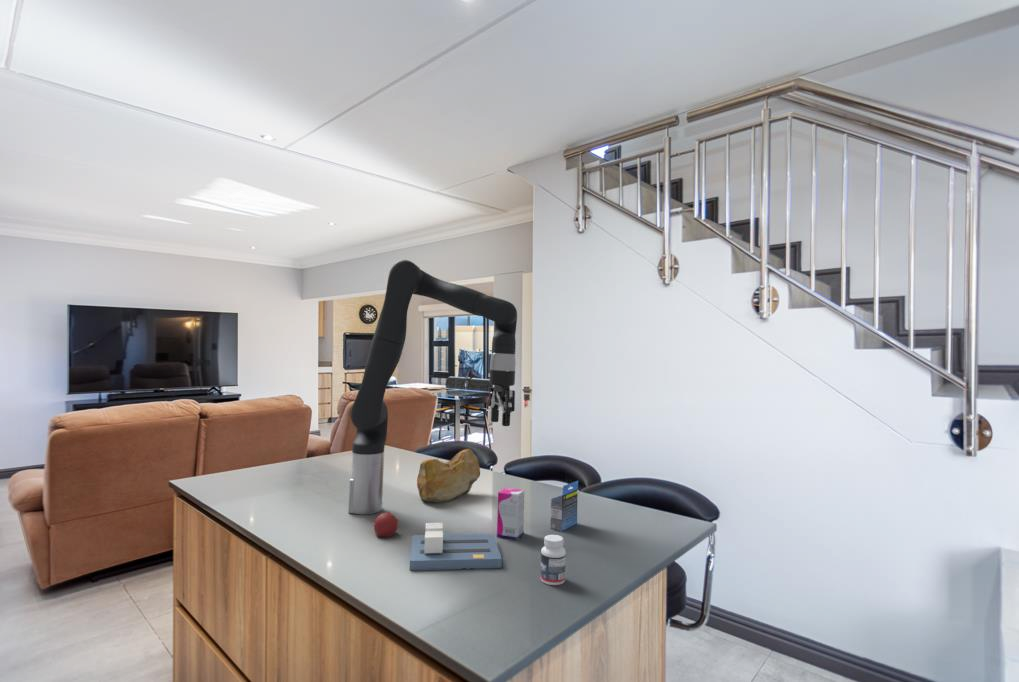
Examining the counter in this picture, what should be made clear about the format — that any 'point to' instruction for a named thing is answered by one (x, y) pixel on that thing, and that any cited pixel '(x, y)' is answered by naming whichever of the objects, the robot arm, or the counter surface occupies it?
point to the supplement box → (510, 513)
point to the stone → (447, 477)
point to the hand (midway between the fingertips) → (500, 423)
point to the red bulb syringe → (385, 525)
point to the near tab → (433, 542)
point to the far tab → (434, 527)
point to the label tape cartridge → (564, 508)
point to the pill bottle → (553, 560)
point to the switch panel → (457, 553)
